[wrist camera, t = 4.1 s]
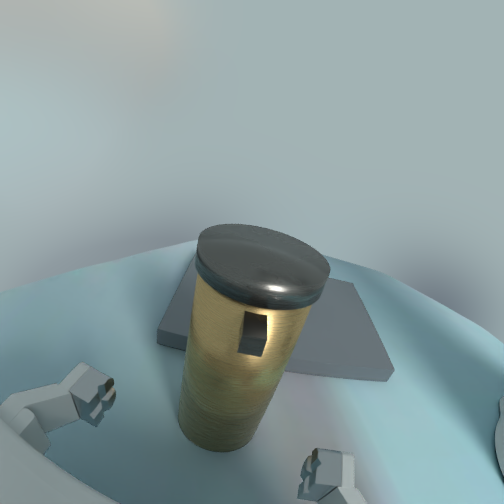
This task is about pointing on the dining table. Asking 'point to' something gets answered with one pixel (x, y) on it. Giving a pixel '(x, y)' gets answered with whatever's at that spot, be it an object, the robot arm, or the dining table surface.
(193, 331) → the cylinder
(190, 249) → the dining table surface
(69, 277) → the dining table surface
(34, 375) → the dining table surface
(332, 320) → the socket base
